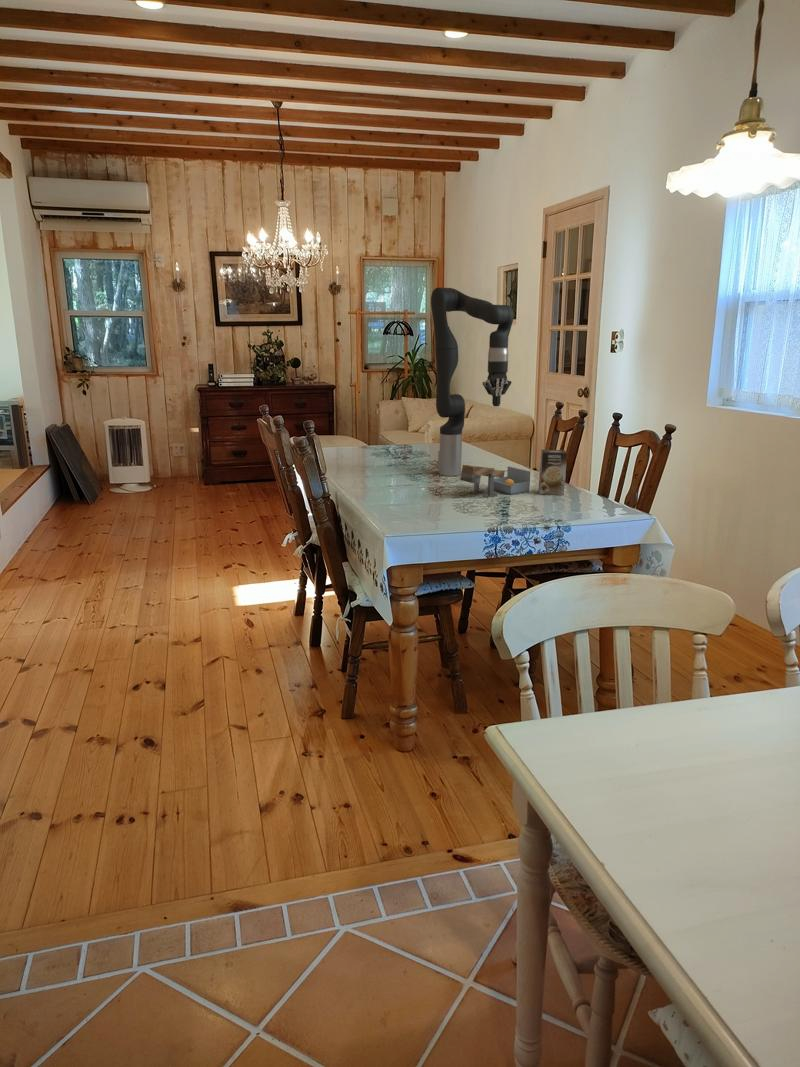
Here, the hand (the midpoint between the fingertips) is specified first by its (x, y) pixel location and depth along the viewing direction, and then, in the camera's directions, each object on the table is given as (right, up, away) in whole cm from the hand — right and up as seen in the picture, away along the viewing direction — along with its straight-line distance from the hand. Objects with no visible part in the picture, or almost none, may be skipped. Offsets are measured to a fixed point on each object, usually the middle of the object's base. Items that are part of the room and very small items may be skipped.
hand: (496, 406), depth 287 cm
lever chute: (-9, -29, -7) cm, 32 cm away
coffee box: (+20, -34, -7) cm, 40 cm away
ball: (+5, -30, -3) cm, 31 cm away
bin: (+5, -33, -2) cm, 33 cm away
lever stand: (-6, -35, -9) cm, 36 cm away
